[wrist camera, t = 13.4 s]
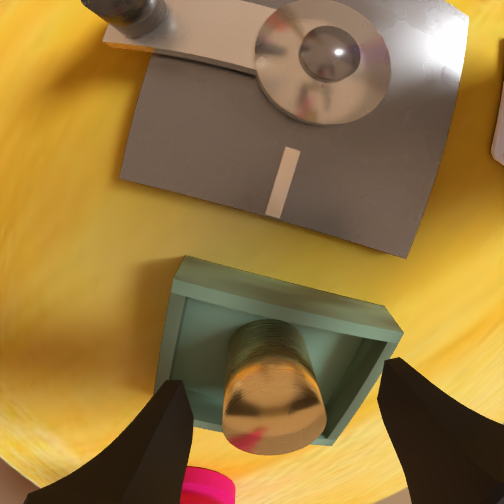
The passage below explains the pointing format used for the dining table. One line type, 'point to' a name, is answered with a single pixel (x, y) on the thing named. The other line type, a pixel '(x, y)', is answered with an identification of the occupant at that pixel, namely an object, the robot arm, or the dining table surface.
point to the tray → (279, 308)
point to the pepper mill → (206, 487)
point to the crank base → (309, 134)
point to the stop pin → (270, 390)
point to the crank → (266, 48)
